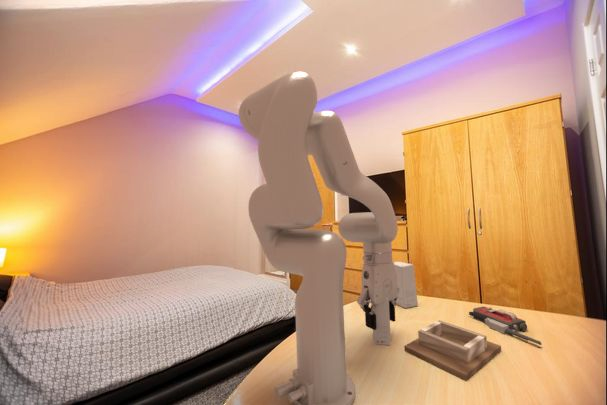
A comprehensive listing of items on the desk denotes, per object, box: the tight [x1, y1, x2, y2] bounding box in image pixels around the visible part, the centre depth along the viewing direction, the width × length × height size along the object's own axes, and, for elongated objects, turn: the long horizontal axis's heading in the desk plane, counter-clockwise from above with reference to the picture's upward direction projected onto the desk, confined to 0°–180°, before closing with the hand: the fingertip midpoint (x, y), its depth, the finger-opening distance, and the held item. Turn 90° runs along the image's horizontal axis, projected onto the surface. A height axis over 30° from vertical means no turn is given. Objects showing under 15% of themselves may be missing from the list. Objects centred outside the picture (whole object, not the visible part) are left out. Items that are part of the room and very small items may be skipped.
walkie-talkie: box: [468, 306, 542, 346], centre depth 72 cm, size 9×4×20 cm
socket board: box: [403, 319, 502, 382], centre depth 62 cm, size 18×14×4 cm
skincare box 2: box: [393, 261, 419, 309], centre depth 94 cm, size 8×6×15 cm
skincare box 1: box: [372, 298, 392, 346], centre depth 69 cm, size 6×4×12 cm
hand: (380, 323), depth 69 cm, fingers closed on skincare box 1, 7 cm apart
